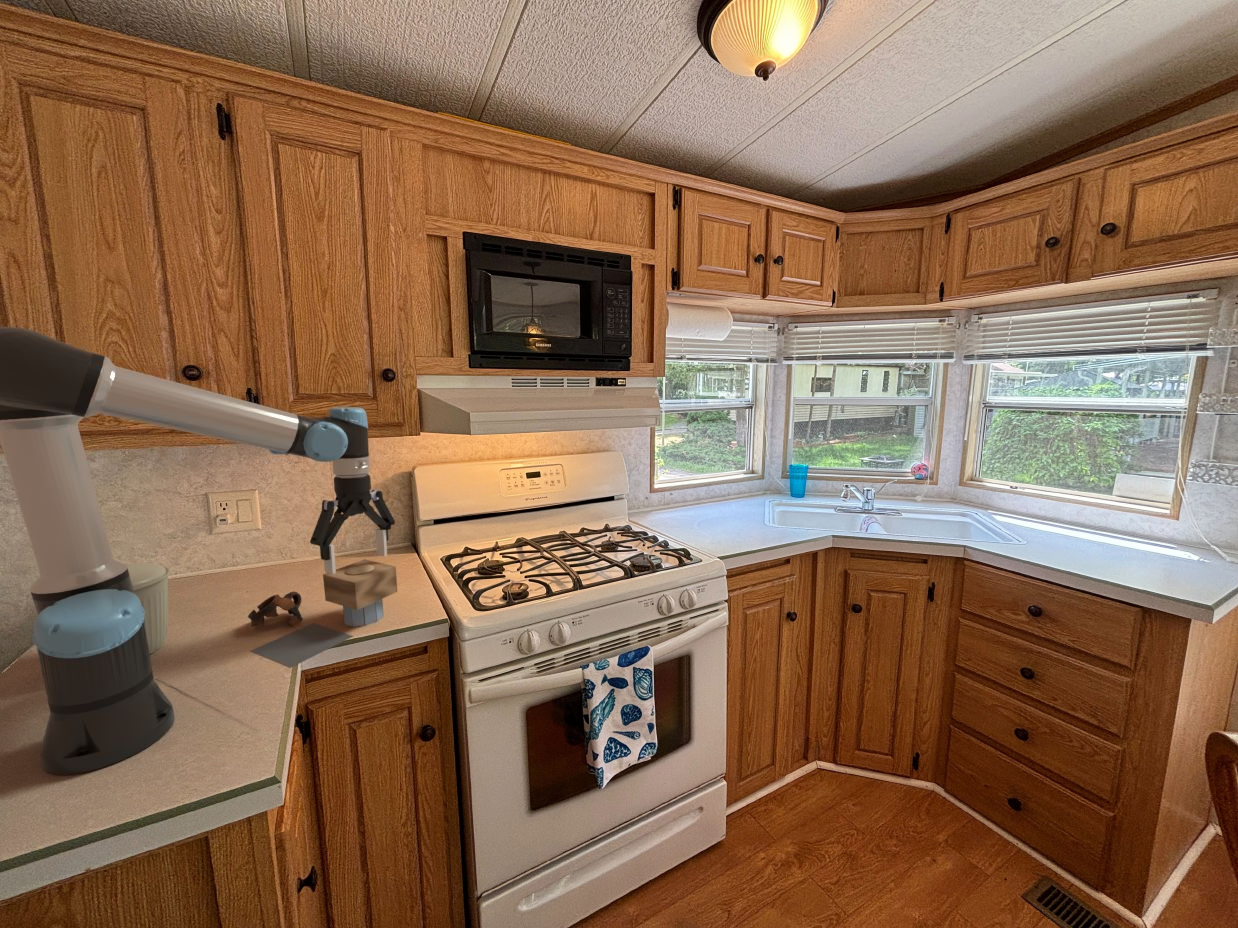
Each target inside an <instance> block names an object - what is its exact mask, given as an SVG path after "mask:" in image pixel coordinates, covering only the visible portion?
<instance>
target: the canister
mask: <svg viewBox="0 0 1238 928" xmlns="http://www.w3.org/2000/svg"><path fill="white" fill-rule="evenodd" d="M113 559H114V560H116V561H119V562H122V561H121V560H120V559H119V558H115V557H113ZM125 564H126V565H127V568H128V572H129V575H130V578H131V582H132V586H133V590H134V592H135V594H136V595H137V597H138V598H139V599H140V602H141V604H142V606H143V608H144V612H145V618H144V623H145V629H146V635H147V641H148V647H149V653H150V655H151V654H152V653H154V652H156V651H157V650H158V649H160V648H161V647H162V646H163V644H164V642H165V640H166V639H167V636H168V621H169V619H168V617H169V612H168V611H169V601H168V600H169V598H168V597H169V591H168V590H169V588H168V587H169V582H168V581H169V579H168V577H169V576H170V575H171V573H172V569H171V568H170V567H169V566H166V565H162V564H159V563H154V562H131V563H125Z"/></svg>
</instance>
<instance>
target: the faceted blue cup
mask: <svg viewBox="0 0 1238 928" xmlns="http://www.w3.org/2000/svg"><path fill="white" fill-rule="evenodd" d="M383 602H384V601H383V599H381V600H378V601H376V602H374V603H372V604H370V605H367V606H365V607H363V608H361V609H359V610H355V609H352V608H349V607H345V606H342V611H343V621H344V625H346V626H349V627H364V626H368V625H372V624H375V623H377V622H378V621H380V620H382V619H383V617H384V615H385V613H384V603H383Z"/></svg>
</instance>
